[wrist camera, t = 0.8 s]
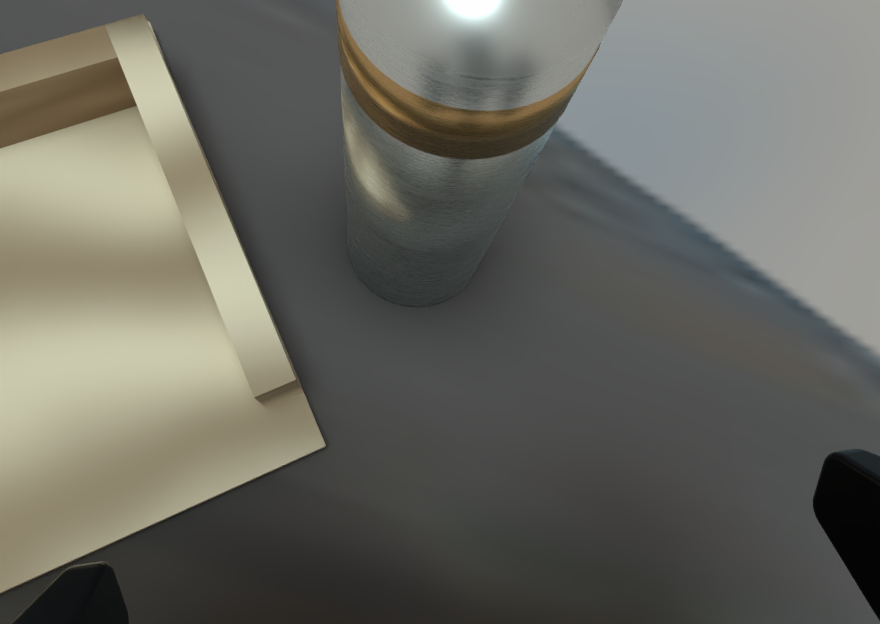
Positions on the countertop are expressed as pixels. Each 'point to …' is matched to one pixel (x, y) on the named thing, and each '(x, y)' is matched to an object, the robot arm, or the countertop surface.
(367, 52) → the cell
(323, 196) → the countertop surface
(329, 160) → the countertop surface
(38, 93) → the cradle
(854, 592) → the countertop surface
